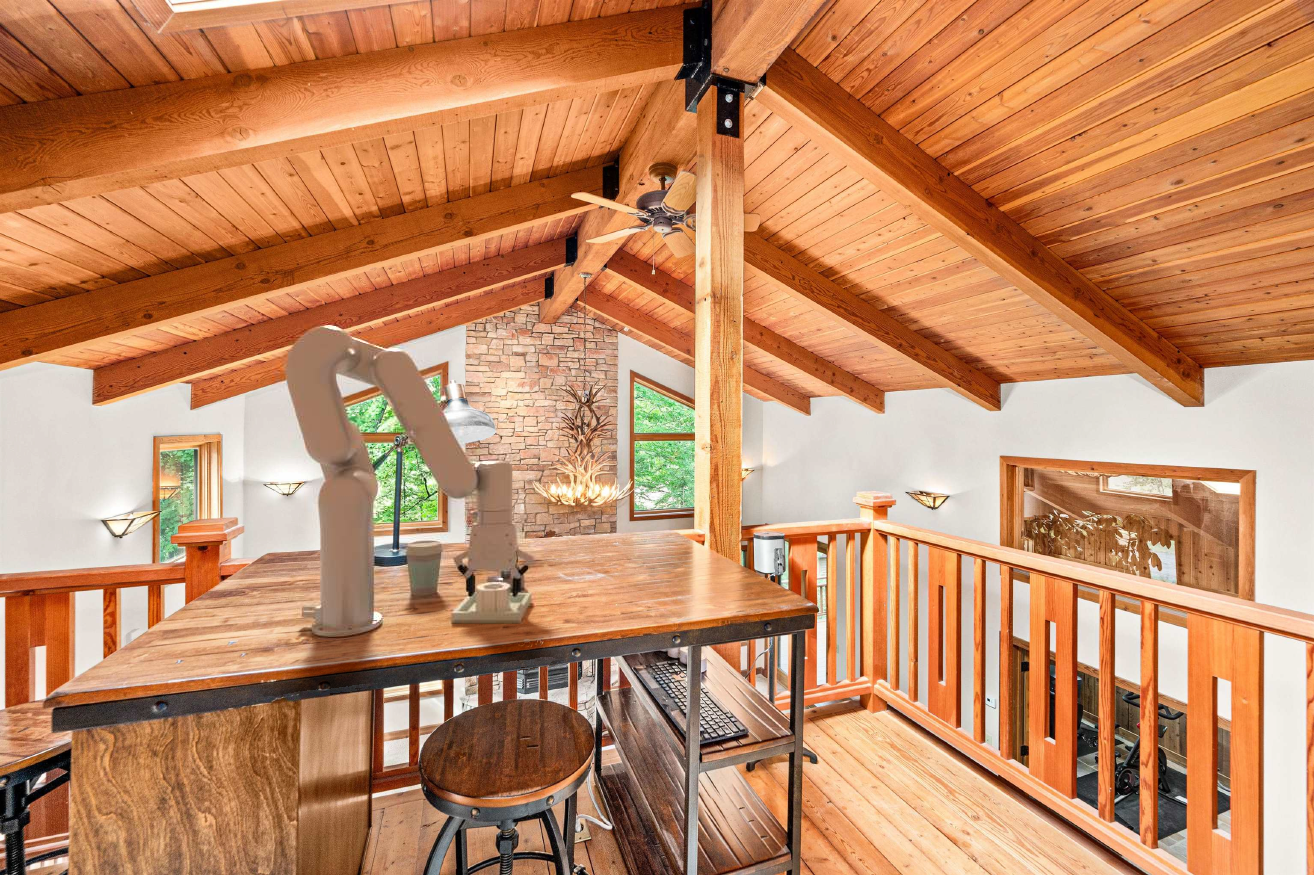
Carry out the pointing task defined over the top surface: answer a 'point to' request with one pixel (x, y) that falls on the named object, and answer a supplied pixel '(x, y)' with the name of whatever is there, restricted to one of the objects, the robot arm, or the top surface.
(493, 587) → the collar
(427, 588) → the coffee cup
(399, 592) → the top surface
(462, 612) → the tray
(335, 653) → the top surface
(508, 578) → the grey peg stand
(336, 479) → the robot arm
